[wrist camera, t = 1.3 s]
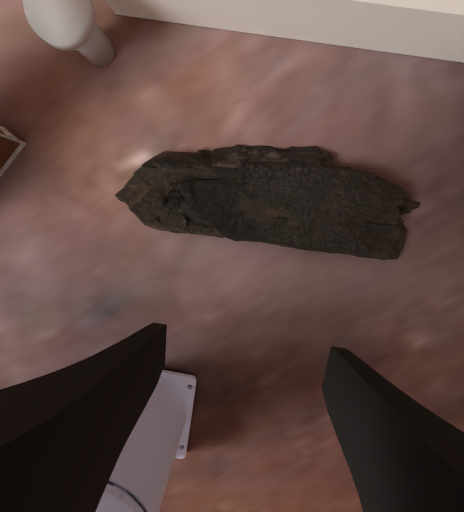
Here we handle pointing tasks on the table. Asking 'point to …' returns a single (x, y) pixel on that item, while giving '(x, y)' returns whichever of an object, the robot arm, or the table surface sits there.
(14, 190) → the table surface
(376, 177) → the wood
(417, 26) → the cream long bar
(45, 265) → the table surface
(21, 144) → the food container
